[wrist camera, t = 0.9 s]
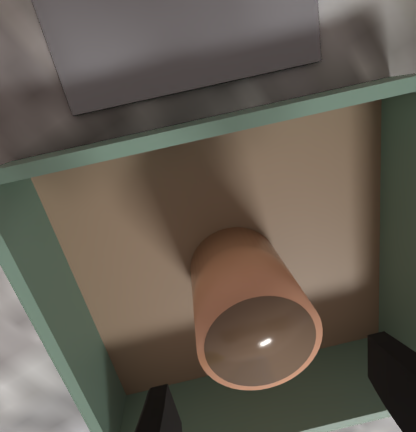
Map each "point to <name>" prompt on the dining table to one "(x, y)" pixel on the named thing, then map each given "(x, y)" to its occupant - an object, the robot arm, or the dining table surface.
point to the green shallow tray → (205, 226)
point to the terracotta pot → (250, 312)
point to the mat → (171, 45)
